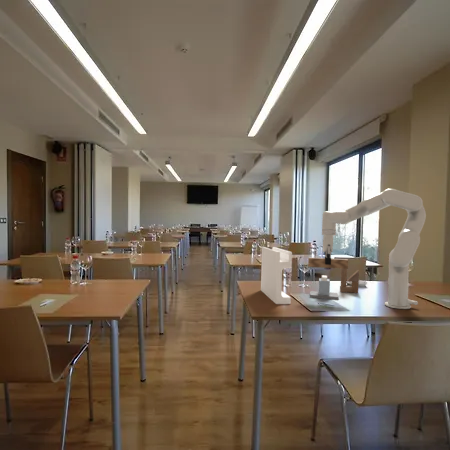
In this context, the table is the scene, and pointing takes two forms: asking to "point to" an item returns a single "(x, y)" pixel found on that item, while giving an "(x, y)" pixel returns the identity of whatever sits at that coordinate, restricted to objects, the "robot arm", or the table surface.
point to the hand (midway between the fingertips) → (327, 263)
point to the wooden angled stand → (352, 278)
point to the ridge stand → (324, 290)
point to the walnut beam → (334, 264)
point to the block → (274, 273)
